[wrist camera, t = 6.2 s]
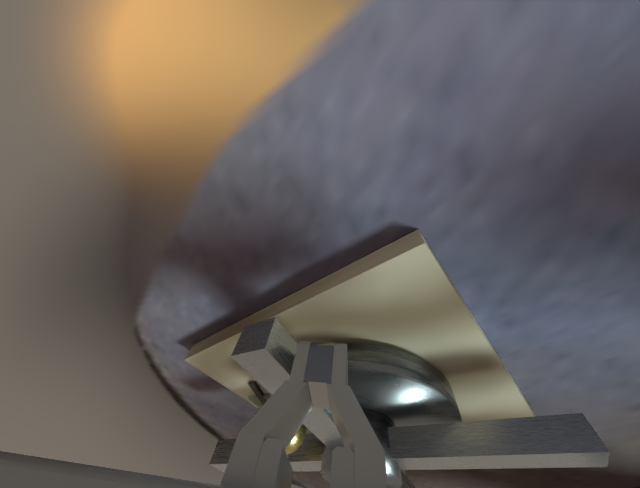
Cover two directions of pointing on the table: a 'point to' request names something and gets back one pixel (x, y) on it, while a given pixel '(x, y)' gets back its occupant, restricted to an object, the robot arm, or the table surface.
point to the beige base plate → (383, 328)
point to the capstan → (411, 416)
